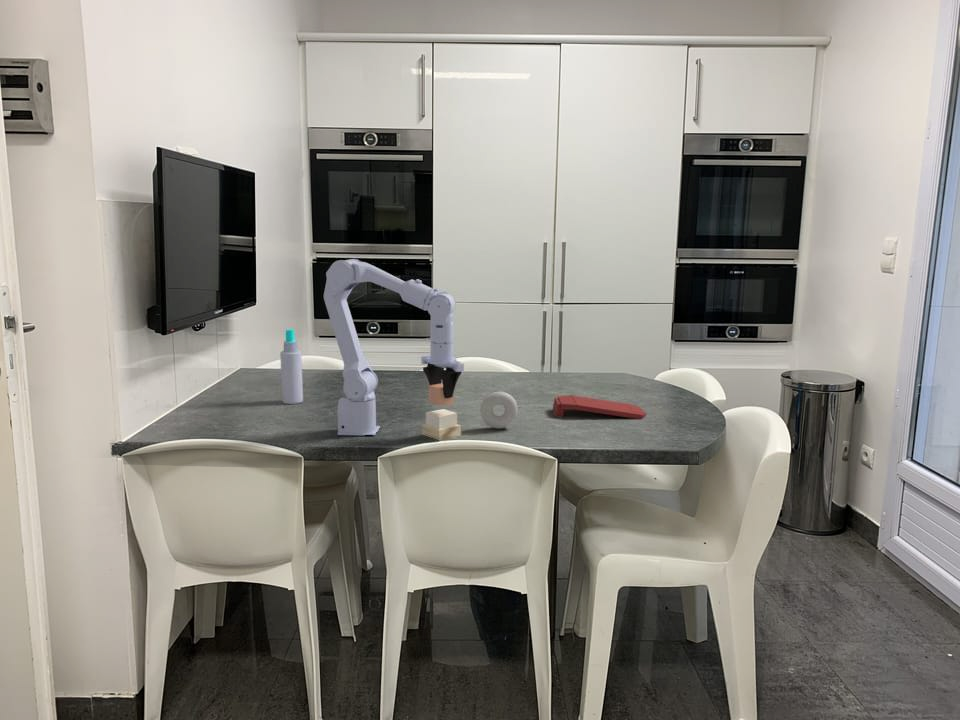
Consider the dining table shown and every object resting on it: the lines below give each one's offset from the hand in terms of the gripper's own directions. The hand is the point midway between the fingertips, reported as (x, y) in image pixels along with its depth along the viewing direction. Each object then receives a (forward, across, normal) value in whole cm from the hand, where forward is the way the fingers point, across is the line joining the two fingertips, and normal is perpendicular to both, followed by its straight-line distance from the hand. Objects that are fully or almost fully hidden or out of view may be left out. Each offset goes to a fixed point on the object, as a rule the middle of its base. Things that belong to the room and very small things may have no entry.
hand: (442, 395), depth 183 cm
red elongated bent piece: (+11, -10, -49) cm, 51 cm away
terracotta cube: (+2, 0, 0) cm, 2 cm away
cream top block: (+8, 0, 0) cm, 8 cm away
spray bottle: (+10, +58, +11) cm, 60 cm away
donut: (+11, -4, -16) cm, 19 cm away
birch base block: (+11, 0, 0) cm, 11 cm away
